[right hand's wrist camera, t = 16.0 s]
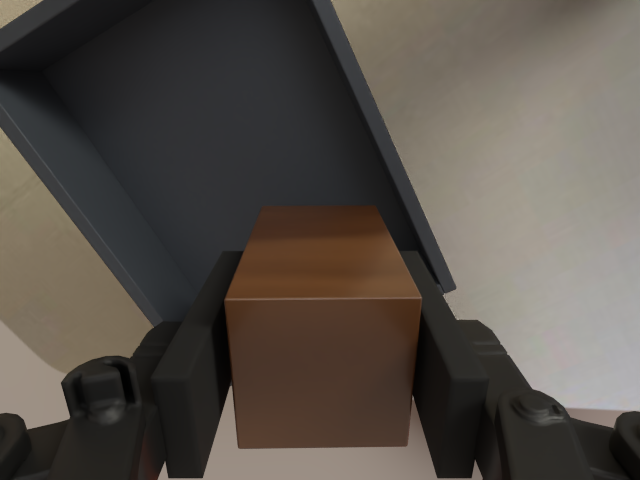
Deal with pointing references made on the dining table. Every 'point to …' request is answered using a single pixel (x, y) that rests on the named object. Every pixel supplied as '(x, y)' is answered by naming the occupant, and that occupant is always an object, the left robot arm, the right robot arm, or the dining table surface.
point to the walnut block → (322, 331)
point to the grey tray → (197, 131)
